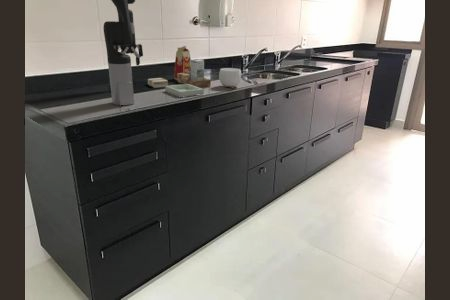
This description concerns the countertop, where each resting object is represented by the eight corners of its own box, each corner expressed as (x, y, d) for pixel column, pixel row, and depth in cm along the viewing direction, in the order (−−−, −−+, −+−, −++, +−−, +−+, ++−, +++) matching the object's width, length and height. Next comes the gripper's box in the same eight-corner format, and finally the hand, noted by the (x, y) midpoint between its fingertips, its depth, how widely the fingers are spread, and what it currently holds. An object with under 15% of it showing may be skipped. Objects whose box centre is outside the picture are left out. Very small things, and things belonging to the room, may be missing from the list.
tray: (203, 94, 158) (203, 89, 157) (180, 97, 151) (180, 91, 150) (187, 88, 170) (187, 83, 169) (165, 91, 162) (165, 86, 161)
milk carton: (194, 79, 196) (193, 45, 188) (182, 81, 190) (181, 46, 182) (184, 77, 202) (183, 44, 194) (173, 79, 196) (171, 45, 188)
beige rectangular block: (168, 87, 174) (167, 80, 173) (154, 88, 170) (153, 81, 169) (161, 83, 182) (161, 77, 181) (148, 85, 178) (147, 78, 177)
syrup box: (196, 84, 181) (196, 58, 176) (204, 86, 178) (204, 59, 172) (189, 86, 177) (189, 59, 172) (197, 87, 174) (197, 60, 168)
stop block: (190, 83, 184) (190, 74, 182) (184, 84, 181) (184, 75, 179) (183, 81, 189) (183, 72, 188) (177, 81, 187) (177, 73, 185)
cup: (245, 87, 178) (246, 69, 175) (230, 90, 170) (231, 72, 166) (229, 83, 186) (229, 67, 182) (214, 86, 177) (214, 69, 174)
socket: (210, 86, 177) (210, 79, 175) (193, 88, 170) (193, 81, 169) (199, 83, 185) (199, 76, 183) (183, 85, 178) (183, 78, 177)
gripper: (115, 32, 150) (118, 67, 157) (143, 32, 158) (145, 65, 165) (110, 31, 156) (113, 65, 162) (137, 31, 164) (139, 63, 170)
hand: (129, 65), depth 163 cm, fingers open, 8 cm apart
